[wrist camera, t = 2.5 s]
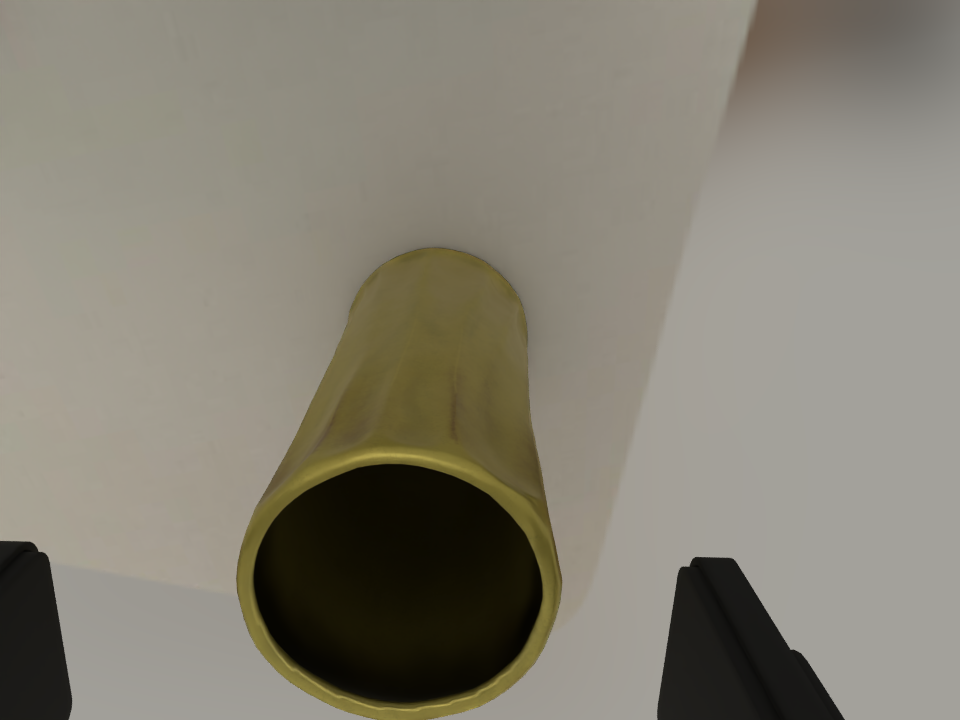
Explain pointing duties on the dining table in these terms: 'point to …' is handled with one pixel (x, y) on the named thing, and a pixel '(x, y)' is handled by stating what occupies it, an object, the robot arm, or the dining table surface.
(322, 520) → the vase
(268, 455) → the dining table surface
